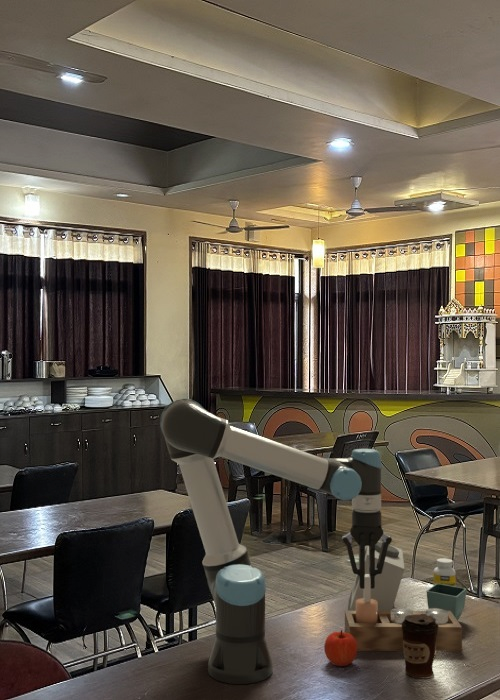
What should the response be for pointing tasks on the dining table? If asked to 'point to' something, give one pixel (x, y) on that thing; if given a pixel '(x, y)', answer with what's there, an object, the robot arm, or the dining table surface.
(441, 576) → the pill bottle
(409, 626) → the coffee cup
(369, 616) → the plug terracotta
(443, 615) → the plug far
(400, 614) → the plug mid
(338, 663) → the apple
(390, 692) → the dining table surface
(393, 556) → the alarm clock
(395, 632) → the divided box
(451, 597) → the flower pot
